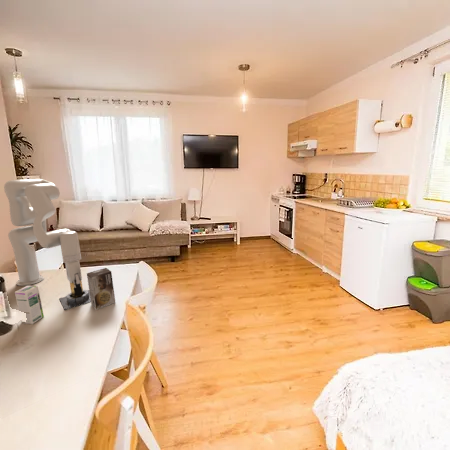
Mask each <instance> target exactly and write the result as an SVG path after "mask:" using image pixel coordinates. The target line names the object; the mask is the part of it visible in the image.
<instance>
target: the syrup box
mask: <svg viewBox="0 0 450 450" xmlns="http://www.w3.org/2000/svg"><path fill="white" fill-rule="evenodd" d="M14 296H15V299H16V300H15V301H16V304H17V308H18V312H19V311H21V312H24V313H26V318H27V320H26V322H25V323H24V324H28V325H29V324H30V325H34V323H36V322H38V321H39V320H41V319H42V318H44V317H45V315H44V311H43V306H42V301H41V296H40V291H39V287H38V286H36V285H26V286H23V287H22V288H20V289H18V290H16V291H14Z"/></svg>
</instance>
